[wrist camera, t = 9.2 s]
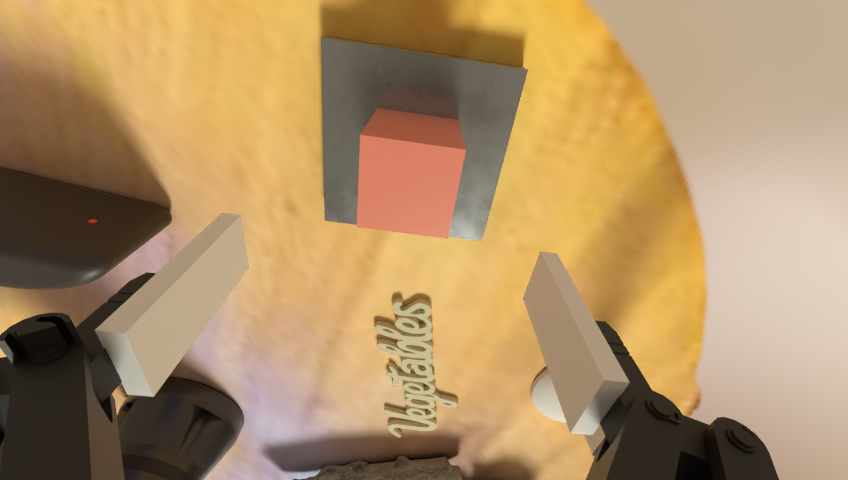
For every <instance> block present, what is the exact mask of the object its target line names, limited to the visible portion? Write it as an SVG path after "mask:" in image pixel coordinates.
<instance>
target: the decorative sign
mask: <svg viewBox="0 0 848 480" xmlns="http://www.w3.org/2000/svg"><path fill="white" fill-rule="evenodd" d="M401 305H403V300H402V298H396V299H395V300H394V301H393V304H392V310H393V312H394V313H395V314H396V315H398V316H397V317H396V319H395V325H396V326H394V325H392V324H390V323H387V322H383V321H377V322H376V323H375V326H374V330H375V331H376V332H377V333H379V334H382V335H384V336H387V337H391V338H394V339H397V343H396V342H393V341H390V340H386V339H379V340H377V345H376V347H377V348H378V349H380V350H382V351H385V352H387V353H390V354H394V355H398V356H403V357H402V359H401V368H402V370H403V371H404V372H403V371H399V370H398V368H397V366H396V365H395V364H394V363H392V362H390V363H389V368H388V369H387V373H386V375H387V376H389V377H391V378H393V381H392V386H398V385H399V379H400V380H404V382H403V389H404V390H405V404H406V405H408V406H407V407H406V410H403V409H398V408H394V407H390V406H387V405H386V406H385V410H384V413H385V414H386V415H388V416H392V417H397V418H402V419H407V420H412V421H416V422H412V421H405V420H391V421H389V422H388V429H389V431H390V432H391V433H392V434H393V435H394V436H396V437H401V434H402V431H400V430H399V429H397V428H405V429H412V430H420V431H432V430H435V429H436V420H435V419H434V418H433V417H435V416H436V407H435V401H438V403H439V404H441V405H442V406H444V407H448V408H455V407H457V406H458V400H457V399H456V398H454V397H451V396H447V395H443V394H439V393H438V392H437V391H435V382H434V381H433V380H434V370H433V369H432V364H431V363H432V351H433V343H432V342H431V341H430V340H431V339H432V337H433V331H432V319H431V317H430V315H431V308H432V307H431V304H430V302H428V301H427V300H424V299H417V300H414V301H413V302H411V303H410V304H408V305H407V306H404V307H403V306H401ZM417 309H419V310H417ZM420 309H424V310H420ZM415 317H417V318H419V319H421V320H423V321H424V322H425V323H423V324H419V320H418V319H417V318H415ZM414 345H415V346H414ZM418 346H421V347H418ZM410 364H412V365H413V368H414V371H415V373H410V368H411V365H410ZM420 365H423V366H424V367H422V366H420ZM423 383H424V384H426V385H428V386H424V384H423ZM416 399H418V400H416ZM422 400H423V401H422ZM426 409H428V411H426Z"/></svg>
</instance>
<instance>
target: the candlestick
mask: <svg viewBox="0 0 848 480" xmlns="http://www.w3.org/2000/svg"><path fill="white" fill-rule="evenodd" d="M531 398H532V402H533V404H534V406H535V408H536V409H537V410H538V411H539V412H540V413H542V414H543V415H545V416H547V417H549V418H551V419H554V420H556V421H560V422H565V423H567V422H566V420H565V417H564V414H563V411H562V408H561V405H560V402H559V400H558V397H557V394H556V391H555V388H554V385H553V382H552V380H551V377H550V374H549V371H548V368H547V369H546V370H544V371H543V372H542V373H541V374H540V375H539V376H538V377H537V378H536V379H535V381H534V382H533V384H532V387H531ZM584 436H585V439H586V441H587V443H588V446H589V448H590V451H591V453H592V454H593V452H594V451H595V450H596V448H597V447H598V446H599V444H600V443H601V442H602V440H603V439H604V438H605V434H604V432H603V430H602V427H601V425H599V427H598V428H597V430H596V431H595V433H594V434H593V435H586V434H584ZM593 458H594V459H595V456H594V455H593Z"/></svg>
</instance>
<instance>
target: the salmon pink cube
mask: <svg viewBox="0 0 848 480" xmlns="http://www.w3.org/2000/svg"><path fill="white" fill-rule="evenodd" d="M465 153H466V147H465V143H464V139H463V135H462V131H461V127H460V123H459V120H457V119H450V118H443V117H436V116H429V115H423V114H416V113H409V112H402V111H396V110H389V109H382V108H377V109H376V111H375V112H374V114H373V115H372V117H371V119H370V120H369V122H368V123H367V125H366V126H365V128H364V130H363V131H362V133H361V134H360V153H359V179H358V206H357V227H362V228H370V229H378V230H385V231H393V232H401V233H409V234H416V235H424V236H432V237H440V238H447V239H448V236H449V231H450V226H451V221H452V216H453V211H454V206H455V202H456V197H457V192H458V187H459V182H460V177H461V172H462V167H463V163H464V158H465Z"/></svg>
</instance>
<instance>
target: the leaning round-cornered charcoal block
mask: <svg viewBox="0 0 848 480" xmlns="http://www.w3.org/2000/svg"><path fill="white" fill-rule="evenodd" d="M171 220H172V216H171V214H170V212H169V211H168V210H166V209H165V208H163V207H161V206H159V205H156V204H152V203H147V202H143V201H139V200H135V199H130V198H126V197H122V196H118V195H113V194H109V193H105V192H101V191H96V190H92V189H88V188H84V187H79V186H75V185H71V184H67V183H62V182H58V181H54V180H50V179H45V178H41V177H37V176H33V175H28V174H24V173H20V172H16V171H11V170H7V169H3V168H0V286H4V287H12V288H22V289H61V288H68V287H74V286H79V285H82V284H86V283H89V282H91V281H94V280H96V279H98V278H100V277H101V276H103V275H104V274H106V273H107V272H109V271H110V270H111V269H112V268H114V267H115V266H116V265H118V264H119V263H120V262H121V261H123V260H124V259H125V258H127V257H128V256H129V255H130V254H132V253H133V252H134V251H136V250H137V249H138V248H139V247H141V246H142V245H143V244H145V243H146V242H147V241H148V240H150V239H151V238H152V237H154V236H155V235H156V234H158V233H159V232H160V231H161V230H163V229H164V228H165V227H167V226H168V225H169V224H170V223H171Z"/></svg>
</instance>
